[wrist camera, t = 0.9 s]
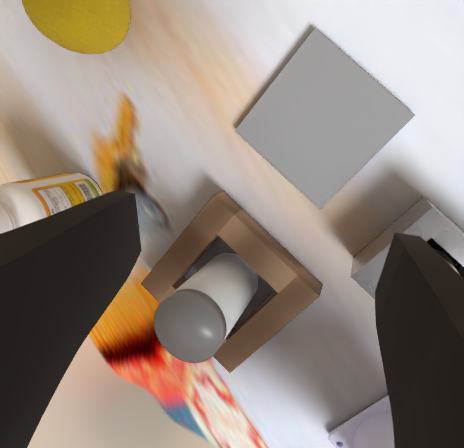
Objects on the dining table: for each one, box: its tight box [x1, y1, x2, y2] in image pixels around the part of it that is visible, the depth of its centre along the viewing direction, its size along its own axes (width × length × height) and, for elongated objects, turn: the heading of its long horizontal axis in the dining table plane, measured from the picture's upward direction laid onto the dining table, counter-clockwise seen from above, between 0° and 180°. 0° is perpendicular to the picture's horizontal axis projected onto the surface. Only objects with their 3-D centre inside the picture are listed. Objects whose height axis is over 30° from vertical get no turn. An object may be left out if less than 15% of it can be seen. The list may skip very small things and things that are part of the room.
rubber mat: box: [235, 28, 415, 209], centre depth 24 cm, size 8×8×1 cm
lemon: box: [22, 0, 130, 54], centre depth 24 cm, size 6×6×8 cm
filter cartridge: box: [154, 253, 258, 363], centre depth 26 cm, size 4×4×8 cm
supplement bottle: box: [0, 173, 103, 234], centre depth 28 cm, size 5×5×10 cm
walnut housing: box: [141, 191, 322, 373], centre depth 28 cm, size 10×10×2 cm
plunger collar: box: [351, 197, 464, 299], centre depth 23 cm, size 6×6×4 cm
